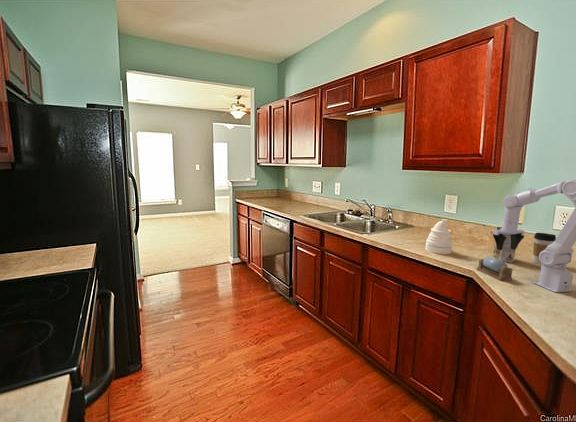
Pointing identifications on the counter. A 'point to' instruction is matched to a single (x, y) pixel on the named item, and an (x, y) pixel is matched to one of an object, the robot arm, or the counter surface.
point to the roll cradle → (502, 275)
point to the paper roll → (494, 264)
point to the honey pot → (439, 239)
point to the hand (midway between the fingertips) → (506, 249)
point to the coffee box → (504, 250)
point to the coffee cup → (541, 244)
